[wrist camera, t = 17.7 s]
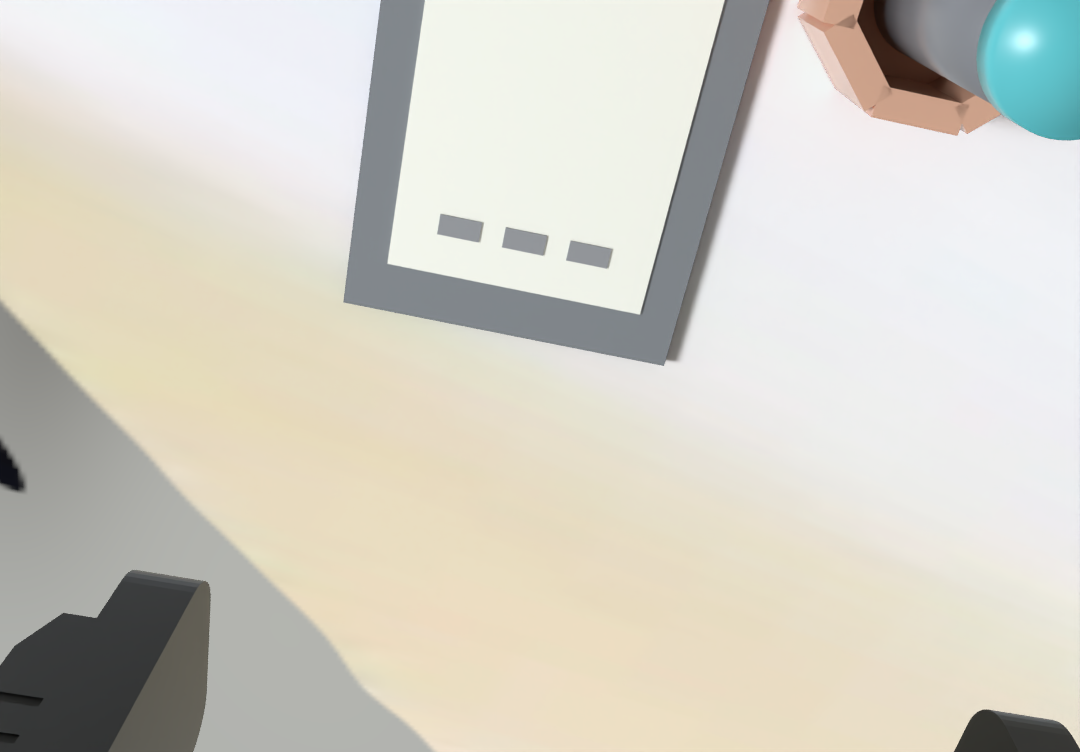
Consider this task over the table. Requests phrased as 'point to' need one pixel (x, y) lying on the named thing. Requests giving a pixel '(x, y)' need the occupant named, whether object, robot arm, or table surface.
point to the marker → (998, 54)
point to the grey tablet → (546, 163)
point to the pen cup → (886, 71)
